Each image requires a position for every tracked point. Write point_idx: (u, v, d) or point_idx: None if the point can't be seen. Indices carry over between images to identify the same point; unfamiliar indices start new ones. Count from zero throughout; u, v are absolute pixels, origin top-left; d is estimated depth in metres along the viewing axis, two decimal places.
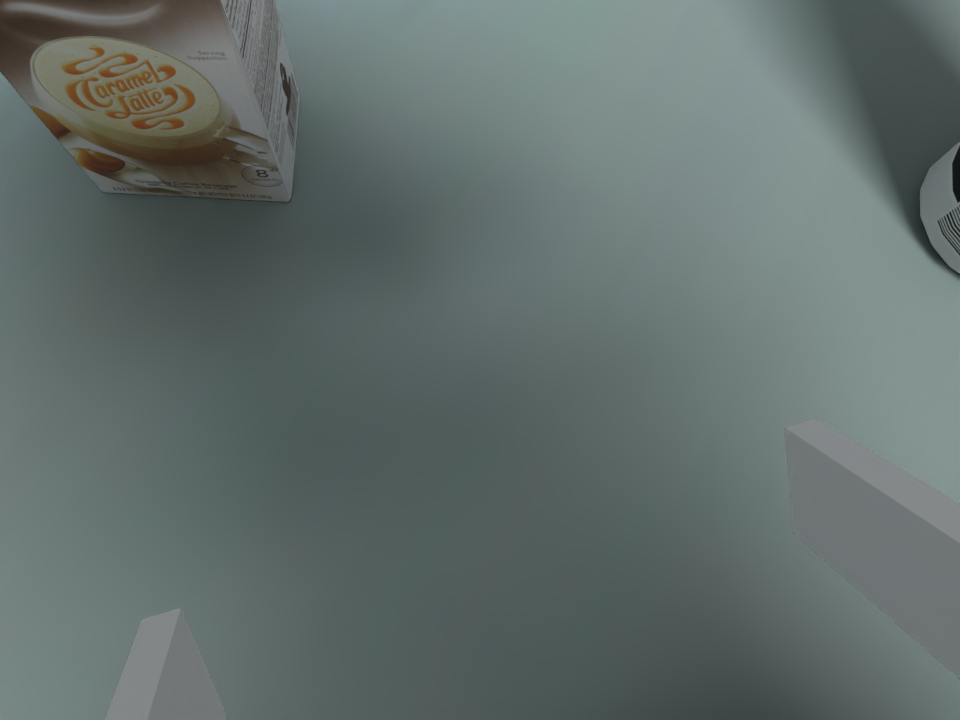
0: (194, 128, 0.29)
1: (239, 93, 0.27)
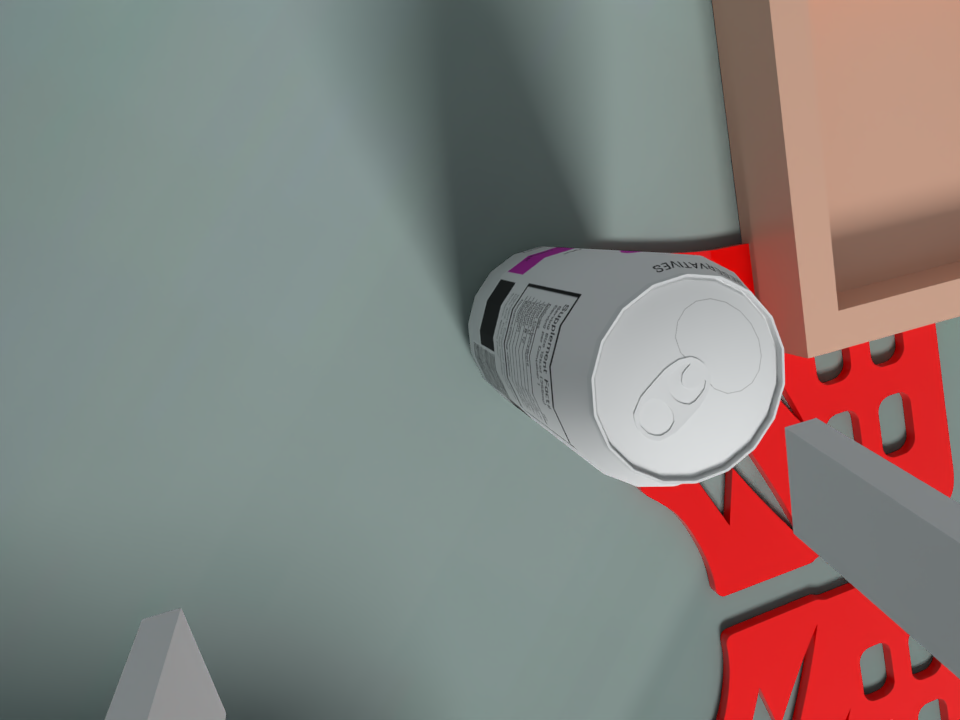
0: None
1: None
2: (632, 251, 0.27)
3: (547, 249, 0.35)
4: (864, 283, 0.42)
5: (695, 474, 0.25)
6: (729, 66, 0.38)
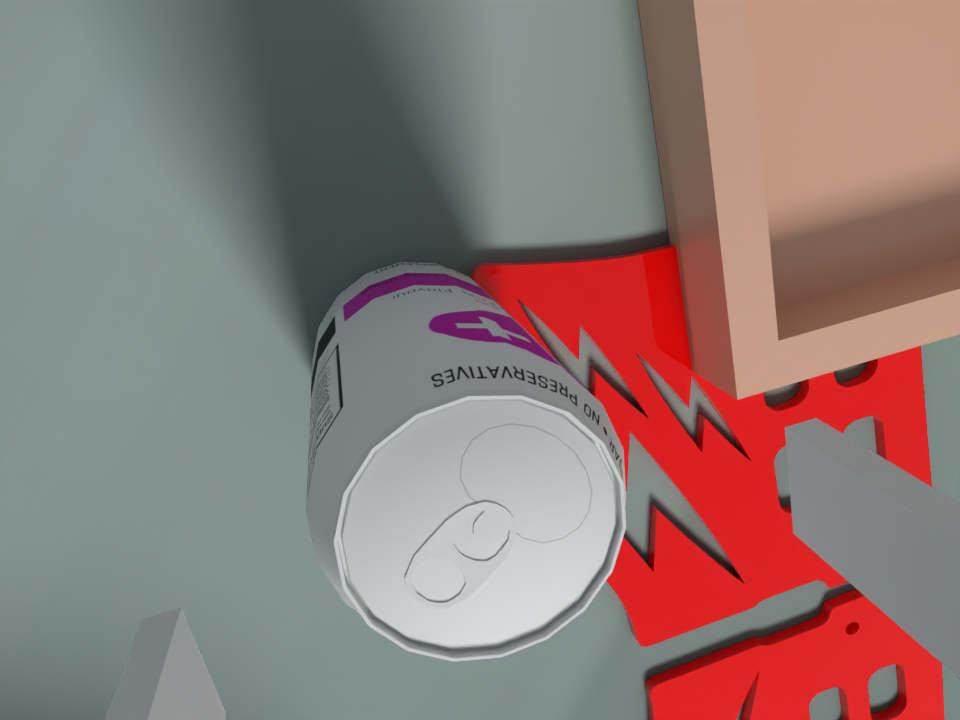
0: None
1: None
2: (438, 327, 0.20)
3: (396, 275, 0.27)
4: (826, 290, 0.33)
5: (501, 644, 0.19)
6: (648, 18, 0.29)
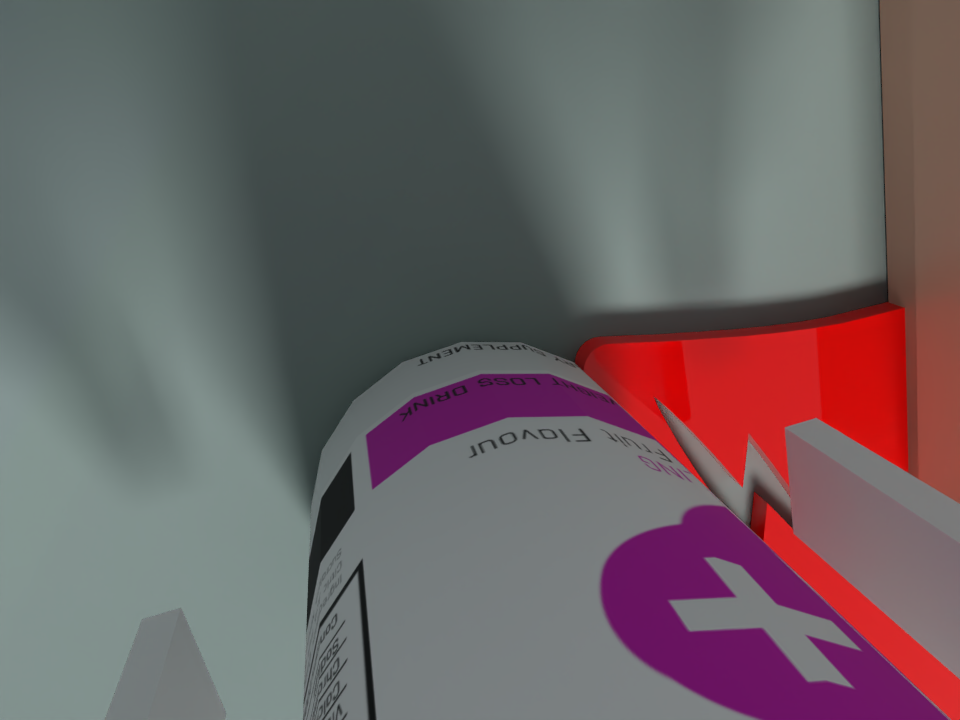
0: None
1: None
2: (638, 630, 0.07)
3: (461, 377, 0.15)
4: None
5: None
6: None
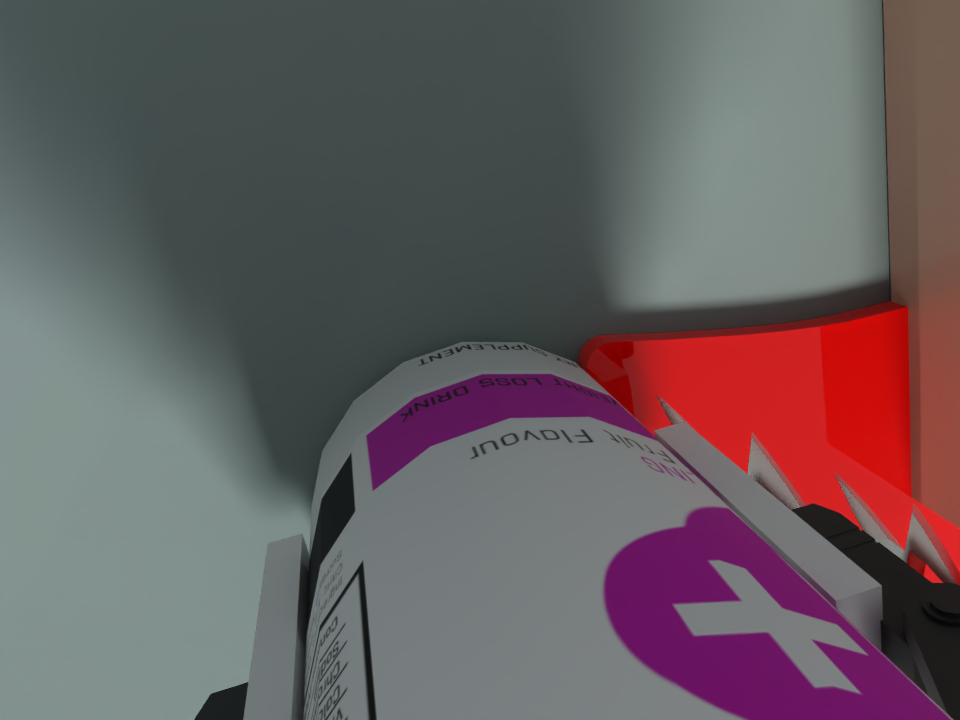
0: None
1: None
2: (642, 635, 0.07)
3: (462, 377, 0.15)
4: None
5: None
6: None
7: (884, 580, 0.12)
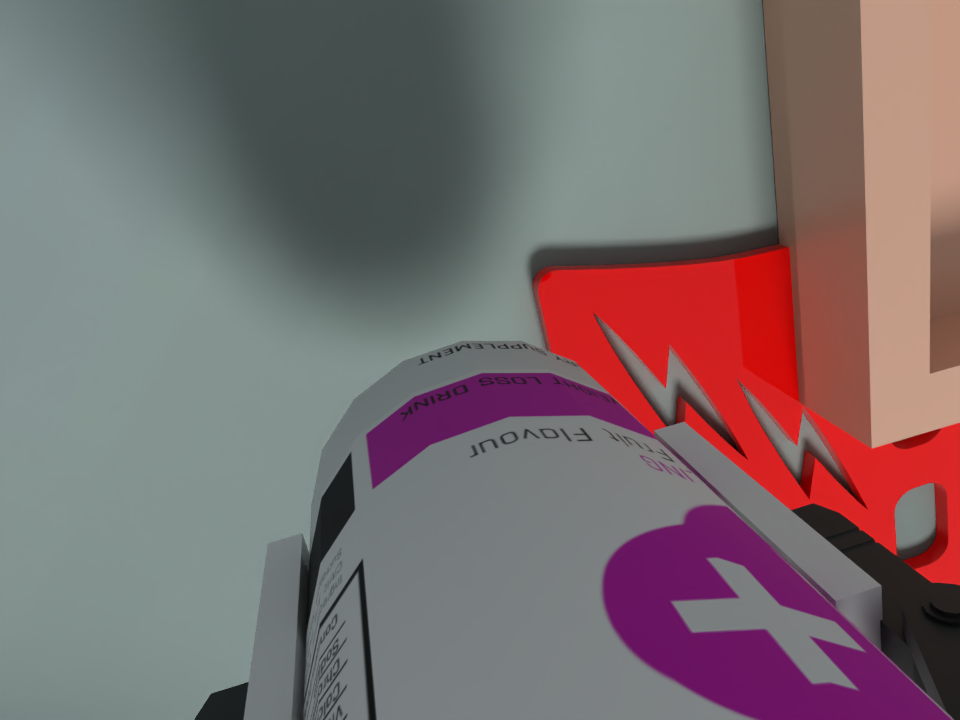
0: None
1: None
2: (640, 632, 0.07)
3: (462, 376, 0.15)
4: None
5: None
6: None
7: (884, 580, 0.12)
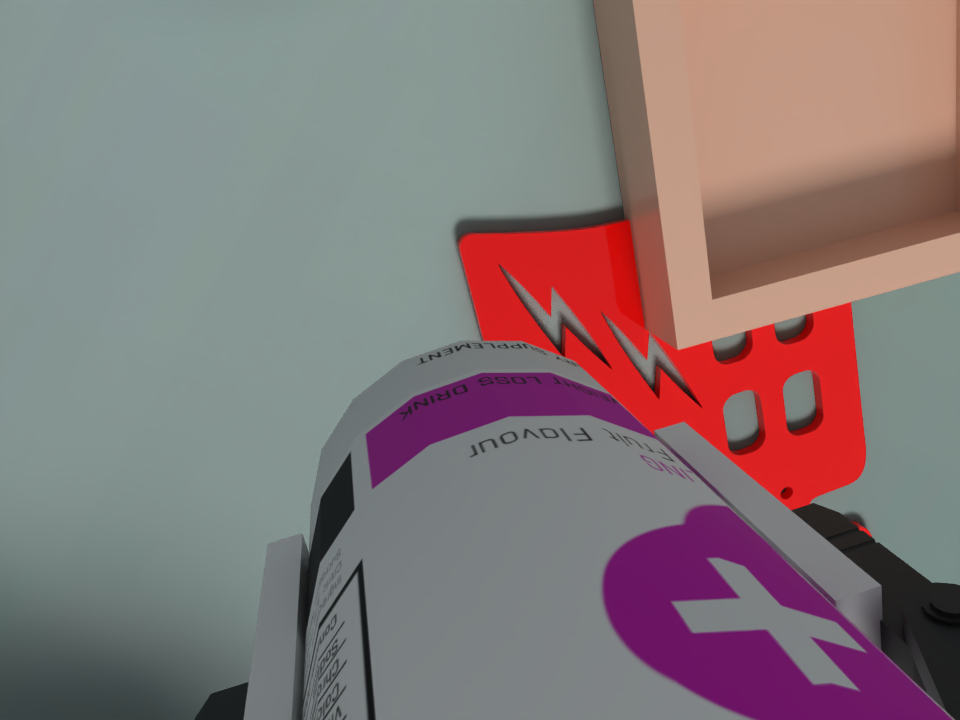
0: None
1: None
2: (641, 632, 0.07)
3: (461, 376, 0.15)
4: (761, 260, 0.39)
5: None
6: (602, 24, 0.34)
7: (884, 580, 0.12)
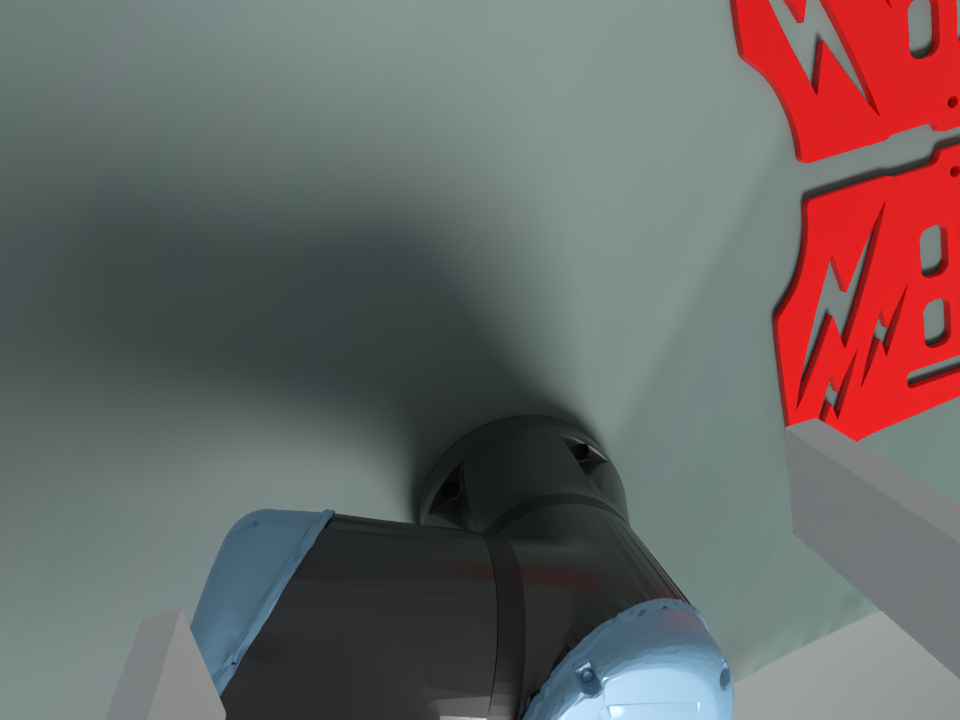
0: None
1: None
2: None
3: None
4: None
5: None
6: None
7: None
